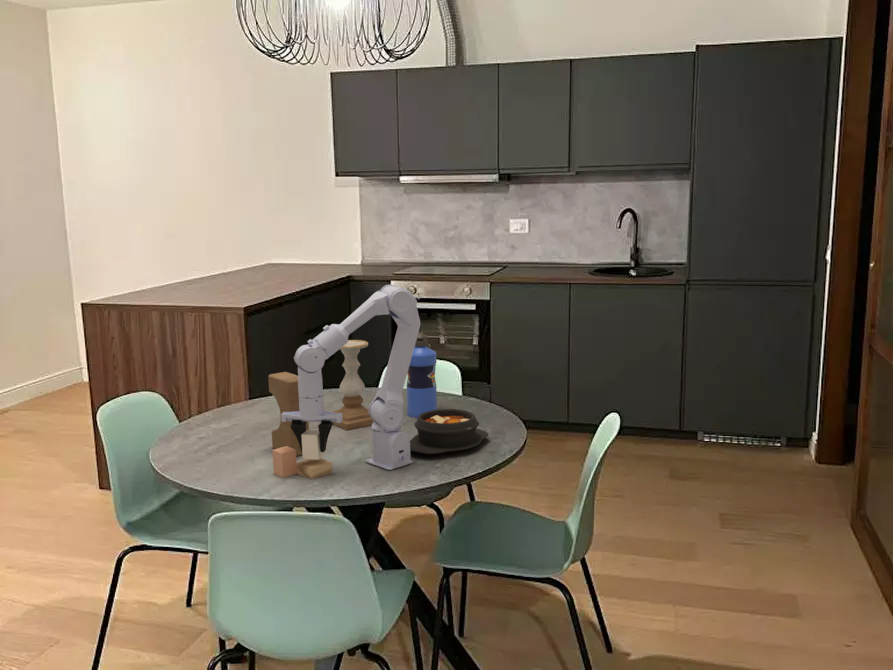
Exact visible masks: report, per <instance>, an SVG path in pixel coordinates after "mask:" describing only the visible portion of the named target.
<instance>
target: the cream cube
mask: <svg viewBox="0 0 893 670" xmlns="http://www.w3.org/2000/svg"><path fill="white" fill-rule="evenodd" d="M301 436H302V455H301V456H302V459H303V460H307V459H316V460H318V459H320V458H323V456H325V454H326V450H325V451H324V452H321V450H320V434H319V429H309V430H307V431H306V432H304V433H303V434H301Z"/></svg>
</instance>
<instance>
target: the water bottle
mask: <svg viewBox="0 0 893 670" xmlns="http://www.w3.org/2000/svg"><path fill="white" fill-rule="evenodd" d="M427 337H428V336H427V335H426V334H425V333H424V332H423V331H422V332H421V331H419V332H418V336H417V340H416V343H415V347H414V351H413V354H412V358H411V362H410V365H409V369H408V373H407V378H406V379H407V380H406V381H407V382H406V414H407V415H406V416H408V417H409V416H410V417H409V418H413V417H416V418H415V419H418V416H419V415H420V414H422V413H424V412H427V411H432V410H438V397H437V393H438V392H437V381H436V366H437V351H436V350H434V349H431V348H429V347H428V345H429V344H428V339H426V338H427Z"/></svg>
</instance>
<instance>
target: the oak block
mask: <svg viewBox="0 0 893 670" xmlns="http://www.w3.org/2000/svg"><path fill="white" fill-rule="evenodd" d="M296 462H297V461H296ZM297 474H298V475H300V476H303V477H305V478H308V479H310V480H313V479H317V478H320V477H323V476H327V475H330V474H333V462H332V461H330V460H327V459H325V458H323V457H321V458H320V459H318V460H316V459H303V460H301V461H298V462H297Z"/></svg>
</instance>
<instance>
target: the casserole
mask: <svg viewBox="0 0 893 670" xmlns="http://www.w3.org/2000/svg"><path fill="white" fill-rule="evenodd" d="M416 419H417V420H416V421H415V422H414V427H415V428H416V430H417V434H416V435H414V436H413V437H412V438H411V439H410V452H413V453H418V454H423V455H424V454H425V455H436V454H442V453H443V454H447V453H448V454H449V453H450V452H451V453H457V452H462V451H465V450H469V449H472V448H474V447H476V446H478V445H480V444H481V443H482V441H483V440H484V439H486V438H487V437H488V436H489V433H488V432H487V431H486V430H483V429H480V428H478V427H479V424H480V423H479V421H478V420H477V418H476V415H475V414H474V413H472V412H471V411H468V410H464V409H456V408H455V409H454V408H440V409H437V410H432V411H427V412H424V413H422V414H420V415H419V416H418V418H416Z"/></svg>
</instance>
